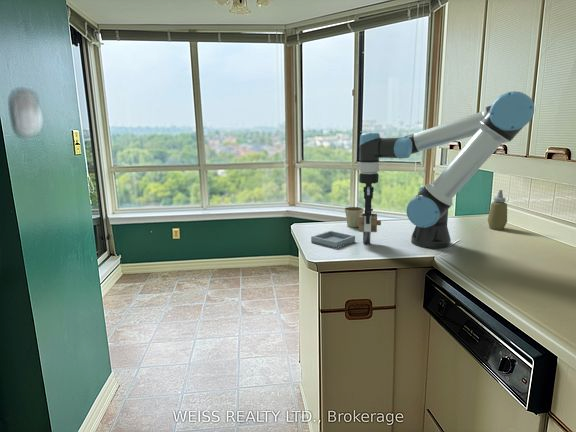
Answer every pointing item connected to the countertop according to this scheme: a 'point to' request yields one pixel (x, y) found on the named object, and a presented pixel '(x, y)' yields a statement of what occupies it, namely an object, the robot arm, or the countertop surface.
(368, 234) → the post
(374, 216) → the brown wooden box
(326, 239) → the tray
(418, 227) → the robot arm
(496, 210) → the squeeze bottle
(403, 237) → the countertop surface
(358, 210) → the flower pot
